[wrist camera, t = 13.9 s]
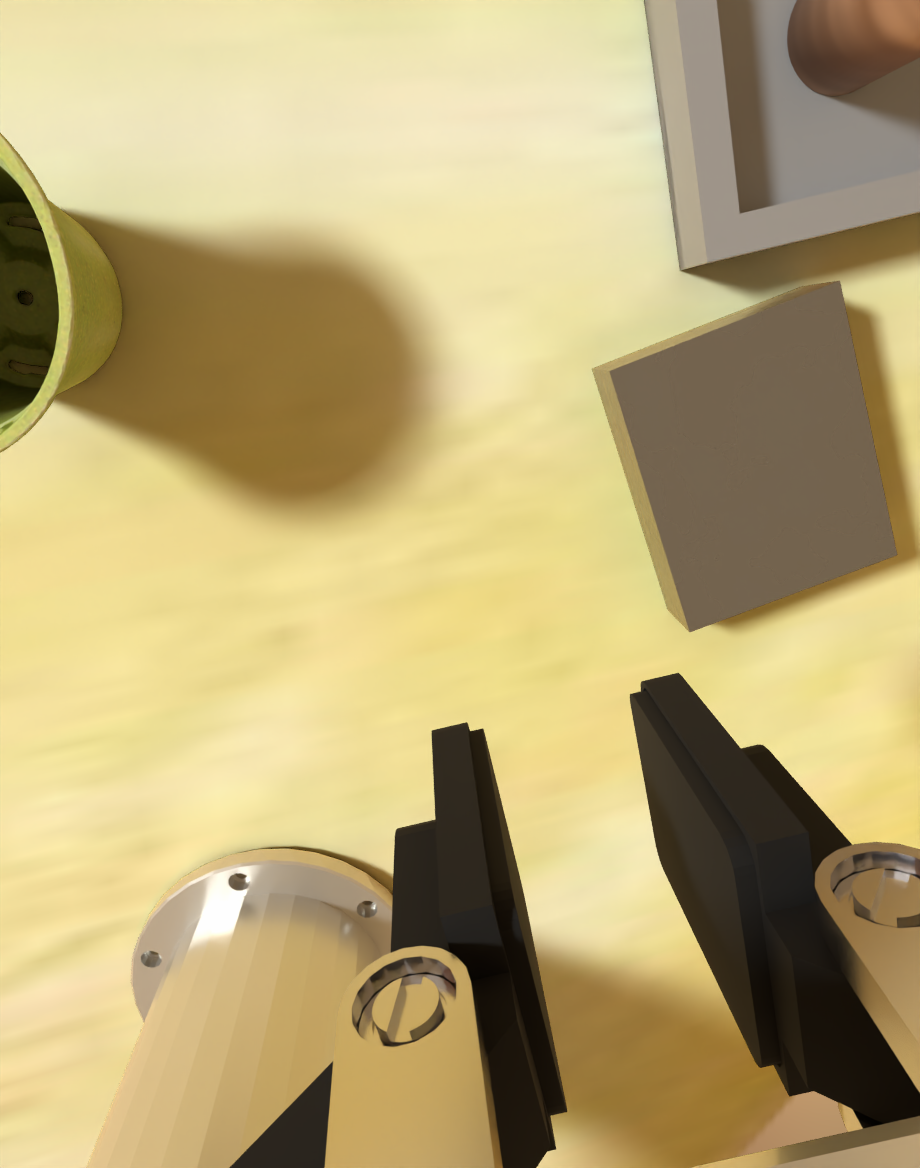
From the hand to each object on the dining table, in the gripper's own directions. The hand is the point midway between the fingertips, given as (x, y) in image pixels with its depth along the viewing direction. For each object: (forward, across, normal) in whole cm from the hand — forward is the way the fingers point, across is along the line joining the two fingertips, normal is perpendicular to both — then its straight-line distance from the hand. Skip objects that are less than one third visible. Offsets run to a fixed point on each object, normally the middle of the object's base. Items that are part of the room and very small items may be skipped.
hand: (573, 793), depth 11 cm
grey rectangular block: (+20, -10, 0) cm, 22 cm away
